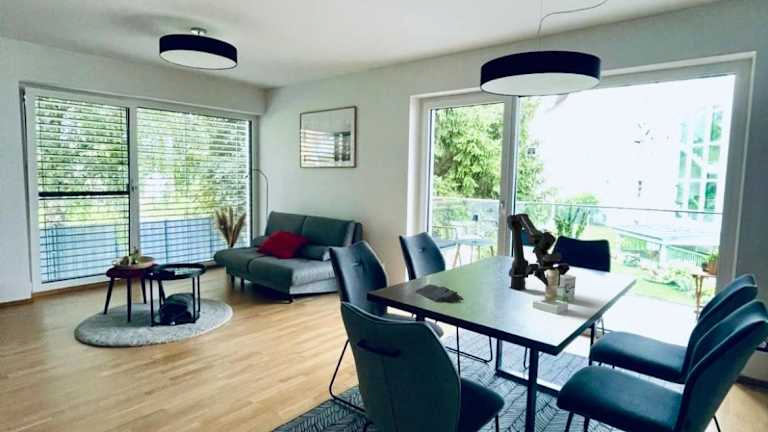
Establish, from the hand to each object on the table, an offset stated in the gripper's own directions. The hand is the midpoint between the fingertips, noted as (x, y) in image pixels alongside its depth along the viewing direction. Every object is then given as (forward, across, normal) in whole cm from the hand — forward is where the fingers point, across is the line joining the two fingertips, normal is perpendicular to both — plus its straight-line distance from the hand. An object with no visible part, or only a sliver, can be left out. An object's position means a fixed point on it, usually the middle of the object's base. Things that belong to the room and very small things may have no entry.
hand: (553, 285), depth 188 cm
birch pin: (+4, 0, +6) cm, 7 cm away
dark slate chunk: (-8, -46, +24) cm, 52 cm away
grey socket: (+7, 0, +8) cm, 11 cm away
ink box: (-2, +14, +18) cm, 23 cm away
